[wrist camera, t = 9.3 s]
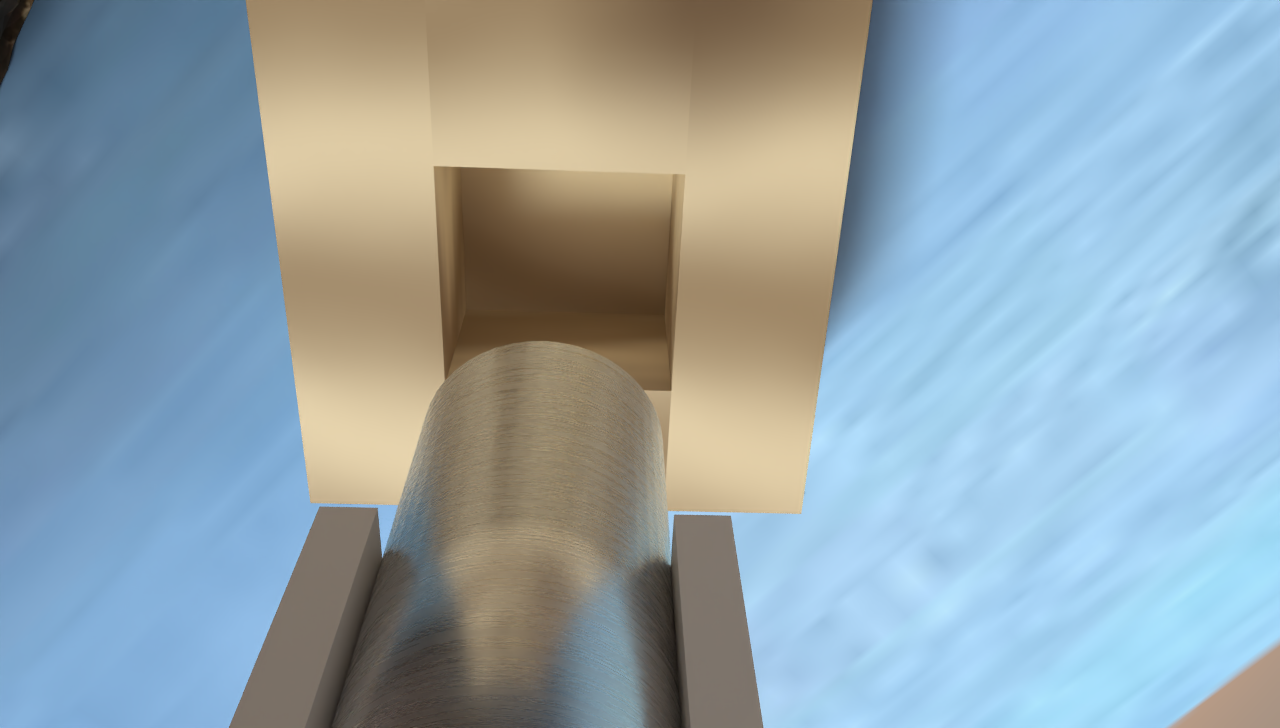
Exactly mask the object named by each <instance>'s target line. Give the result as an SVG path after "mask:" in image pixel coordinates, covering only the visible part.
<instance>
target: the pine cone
mask: <svg viewBox="0 0 1280 728" xmlns="http://www.w3.org/2000/svg"><path fill="white" fill-rule="evenodd" d="M33 1H34V0H0V84H1V82H2V80H3V78H4V76H5V74H6V72H7V70H8V66H9V62H10V57H11V53H12V49H13V45H14V43H15V41H16V39H17V36H18V34H19V32H20V30H21V28H22V26H23V24H24V21H25V19H26V17H27V15H28V13H29V11H30V9H31V6H32V3H33Z"/></svg>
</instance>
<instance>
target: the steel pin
mask: <svg viewBox="0 0 1280 728" xmlns="http://www.w3.org/2000/svg"><path fill="white" fill-rule="evenodd" d="M331 728H682V727H681V713H680V698H679V683H678V669H677V654H676V639H675V625H674V610H673V596H672V581H671V551H670V537H669V523H668V508H667V494H666V480H665V466H664V451H663V438H662V431H661V425H660V422H659V419H658V416H657V413H656V411H655V408H654V406H653V404H652V402H651V400H650V399H649V397H648V396H647V394H646V393H645V391H644V390H643V388H642V387H641V386H640V385H639V384H638V383H637V382H636V381H635V379H634V378H633V377H632V376H630V375H629V374H628V373H627V372H626V371H625V370H623V369H622V368H621V367H620V366H618V365H617V364H615V363H614V362H612V361H610V360H609V359H607V358H605V357H603V356H601V355H599V354H597V353H595V352H593V351H590V350H587V349H584V348H581V347H579V346H575V345H570V344H565V343H560V342H550V341H526V342H519V343H512V344H508V345H504V346H500V347H496V348H494V349H491V350H489V351H486V352H484V353H481V354H479V355H478V356H476V357H474V358H472V359H470V360H469V361H467V362H466V363H464V364H463V365H462V366H460V367H459V368H458V369H456V370H455V371H454V372H453V373H452V374H451V375H450V376H449V377H448V378H447V379H446V380H445V381H444V383H443V384H442V385H441V386H440V388H439V389H438V390H437V392H436V394H435V395H434V397H433V399H432V401H431V403H430V405H429V408H428V411H427V413H426V416H425V419H424V423H423V426H422V429H421V433H420V436H419V439H418V442H417V446H416V449H415V452H414V456H413V459H412V462H411V466H410V469H409V472H408V475H407V479H406V482H405V485H404V489H403V492H402V495H401V499H400V502H399V505H398V508H397V512H396V515H395V518H394V522H393V525H392V528H391V532H390V535H389V538H388V541H387V545H386V548H385V551H384V555H383V558H382V561H381V564H380V568H379V571H378V574H377V578H376V581H375V584H374V588H373V591H372V594H371V597H370V601H369V604H368V607H367V611H366V614H365V617H364V621H363V624H362V627H361V630H360V634H359V637H358V640H357V644H356V647H355V650H354V654H353V657H352V660H351V663H350V667H349V670H348V673H347V677H346V680H345V683H344V686H343V690H342V693H341V696H340V700H339V703H338V706H337V710H336V713H335V716H334V719H333V723H332V726H331Z"/></svg>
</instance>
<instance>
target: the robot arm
mask: <svg viewBox="0 0 1280 728" xmlns="http://www.w3.org/2000/svg"><path fill="white" fill-rule="evenodd" d="M381 561H382V552H381V541H380V530H379V519H378V508H356V507H319V510H318V512H317V514H316V517H315V519H314V522H313V524H312V527H311V529H310V531H309V534H308V536H307V539H306V541H305V544H304V546H303V549H302V551H301V553H300V556H299V558H298V561H297V563H296V566H295V568H294V570H293V573H292V575H291V578H290V580H289V583H288V585H287V587H286V590H285V592H284V595H283V597H282V600H281V602H280V605H279V607H278V609H277V612H276V614H275V617H274V619H273V622H272V624H271V626H270V629H269V631H268V634H267V636H266V639H265V641H264V644H263V646H262V648H261V651H260V653H259V656H258V658H257V661H256V663H255V665H254V668H253V670H252V673H251V675H250V678H249V680H248V682H247V685H246V687H245V690H244V692H243V695H242V697H241V700H240V702H239V704H238V707H237V709H236V712H235V714H234V717H233V719H232V721H231V724H230V726H229V728H331V726H332V723H333V719H334V716H335V713H336V710H337V706H338V703H339V700H340V696H341V693H342V690H343V686H344V683H345V680H346V677H347V673H348V670H349V667H350V663H351V660H352V657H353V654H354V650H355V647H356V644H357V640H358V637H359V634H360V630H361V627H362V624H363V621H364V617H365V614H366V611H367V607H368V604H369V601H370V597H371V594H372V591H373V588H374V584H375V581H376V578H377V574H378V571H379V568H380V564H381ZM671 581H672V596H673V610H674V625H675V639H676V654H677V669H678V683H679V698H680V713H681V727H682V728H763V722H762V716H761V709H760V703H759V696H758V690H757V683H756V677H755V670H754V664H753V657H752V651H751V644H750V638H749V631H748V625H747V618H746V612H745V606H744V599H743V593H742V586H741V580H740V573H739V567H738V560H737V554H736V547H735V541H734V534H733V528H732V521H731V516H714V515H674V525H673V539H672V554H671Z"/></svg>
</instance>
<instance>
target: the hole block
mask: <svg viewBox="0 0 1280 728" xmlns="http://www.w3.org/2000/svg"><path fill="white" fill-rule="evenodd" d="M872 2H873V0H246V6H247V13H248V21H249V29H250V37H251V44H252V52H253V60H254V68H255V76H256V83H257V91H258V99H259V107H260V114H261V122H262V130H263V138H264V145H265V153H266V161H267V169H268V176H269V184H270V192H271V200H272V207H273V215H274V223H275V231H276V238H277V246H278V254H279V262H280V269H281V277H282V285H283V293H284V300H285V308H286V316H287V324H288V331H289V339H290V347H291V355H292V362H293V370H294V378H295V386H296V394H297V401H298V409H299V417H300V425H301V432H302V440H303V448H304V456H305V463H306V471H307V479H308V487H309V494H310V502H311V503H337V504H383V505H399V502H400V499H401V495H402V492H403V489H404V485H405V482H406V479H407V475H408V472H409V469H410V466H411V462H412V459H413V456H414V452H415V449H416V446H417V442H418V439H419V436H420V433H421V429H422V426H423V423H424V419H425V416H426V413H427V411H428V408H429V405H430V403H431V401H432V399H433V397H434V395H435V394H436V392H437V390H438V389H439V388H440V386H441V385H442V384H443V383H444V381H445V380H446V379H447V378H448V377H449V376H450V375H451V374H452V373H453V372H454V371H455V370H456V369H458V368H459V367H460V366H462V365H463V364H464V363H466V362H467V361H469V360H470V359H472V358H474V357H476V356H478V355H479V354H481V353H484V352H486V351H489V350H491V349H494V348H496V347H500V346H504V345H508V344H512V343H519V342H526V341H550V342H560V343H565V344H570V345H575V346H579V347H581V348H584V349H587V350H590V351H593V352H595V353H597V354H599V355H601V356H603V357H605V358H607V359H609V360H610V361H612V362H614V363H615V364H617V365H618V366H620V367H621V368H622V369H623V370H625V371H626V372H627V373H628V374H629V375H630V376H632V377H633V378H634V379H635V381H636V382H637V383H638V384H639V385H640V386H641V387H642V388H643V390H644V391H645V393H646V394H647V396H648V397H649V399H650V400H651V402H652V404H653V406H654V408H655V411H656V413H657V416H658V419H659V422H660V425H661V431H662V438H663V451H664V466H665V480H666V494H667V508H668V511H701V512H746V513H792V514H801V511H802V504H803V497H804V489H805V482H806V475H807V468H808V461H809V454H810V446H811V439H812V432H813V425H814V418H815V410H816V403H817V396H818V389H819V382H820V375H821V367H822V360H823V353H824V346H825V339H826V332H827V324H828V317H829V310H830V303H831V296H832V289H833V281H834V274H835V267H836V260H837V253H838V246H839V238H840V231H841V224H842V217H843V210H844V203H845V195H846V188H847V181H848V174H849V167H850V160H851V152H852V145H853V138H854V131H855V124H856V116H857V109H858V102H859V95H860V88H861V81H862V73H863V66H864V59H865V52H866V45H867V38H868V30H869V23H870V16H871V9H872Z"/></svg>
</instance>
